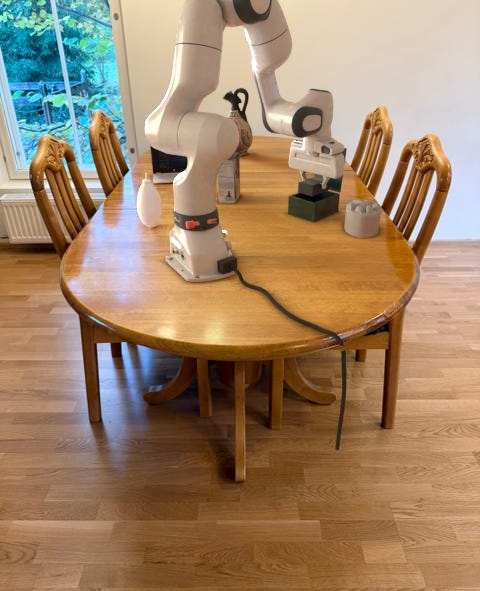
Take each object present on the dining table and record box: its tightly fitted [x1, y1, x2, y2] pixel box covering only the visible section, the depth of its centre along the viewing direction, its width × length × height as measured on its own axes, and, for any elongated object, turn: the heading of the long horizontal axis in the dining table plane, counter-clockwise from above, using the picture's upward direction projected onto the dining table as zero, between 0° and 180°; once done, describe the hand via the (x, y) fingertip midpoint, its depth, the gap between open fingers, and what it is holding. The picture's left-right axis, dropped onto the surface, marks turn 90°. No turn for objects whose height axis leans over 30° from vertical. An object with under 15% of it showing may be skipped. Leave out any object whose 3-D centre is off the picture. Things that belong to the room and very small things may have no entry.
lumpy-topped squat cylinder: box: [343, 198, 382, 239], centre depth 151 cm, size 10×13×9 cm
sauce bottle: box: [136, 171, 163, 229], centre depth 153 cm, size 8×8×18 cm
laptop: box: [149, 144, 188, 185], centre depth 199 cm, size 18×12×13 cm
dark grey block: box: [297, 176, 330, 196], centre depth 162 cm, size 9×6×4 cm, turn 135°
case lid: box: [313, 147, 348, 194], centre depth 166 cm, size 14×11×5 cm
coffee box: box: [217, 152, 241, 204], centre depth 176 cm, size 9×6×16 cm
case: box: [287, 190, 341, 223], centre depth 165 cm, size 14×11×6 cm
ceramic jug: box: [221, 87, 254, 157], centre depth 229 cm, size 17×15×30 cm
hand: (313, 186), depth 162 cm, fingers closed on dark grey block, 6 cm apart
